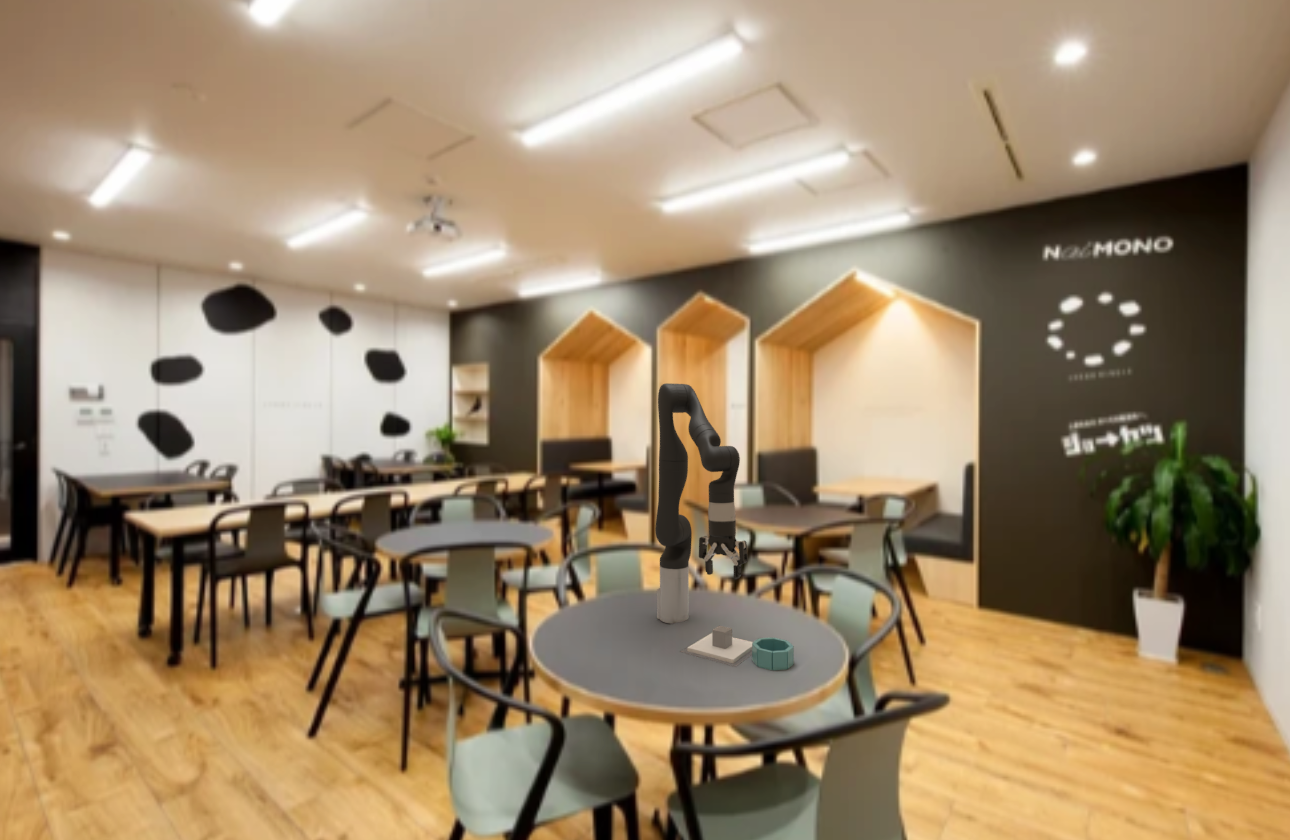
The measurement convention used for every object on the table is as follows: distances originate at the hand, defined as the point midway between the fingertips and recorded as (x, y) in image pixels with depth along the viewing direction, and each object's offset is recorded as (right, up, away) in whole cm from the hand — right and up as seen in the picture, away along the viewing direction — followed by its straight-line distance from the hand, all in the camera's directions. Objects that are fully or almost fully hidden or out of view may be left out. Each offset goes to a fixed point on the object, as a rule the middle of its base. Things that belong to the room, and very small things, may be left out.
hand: (723, 576), depth 169 cm
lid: (0, -20, 0) cm, 20 cm away
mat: (0, -21, 0) cm, 21 cm away
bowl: (+12, -21, -9) cm, 26 cm away
